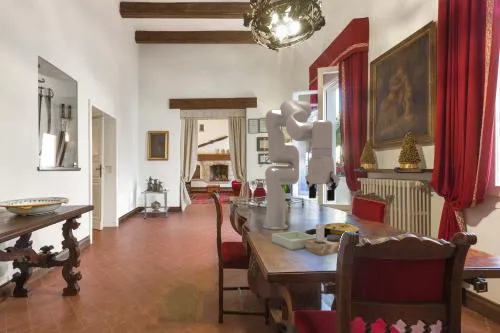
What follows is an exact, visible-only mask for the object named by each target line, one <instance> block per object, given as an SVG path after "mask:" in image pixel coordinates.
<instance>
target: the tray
mask: <svg viewBox="0 0 500 333" xmlns="http://www.w3.org/2000/svg"><path fill="white" fill-rule="evenodd" d="M310 240H316V235H309V234H306V233H305V232H302V231H299V230H293V231H284V232H277V233H271V243H272V244H275V245H278V246H280V247H283V248H286V249H288V250H289V251H297V250H303V249H306V241H310Z"/></svg>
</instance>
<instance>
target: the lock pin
mask: <svg viewBox="0 0 500 333" xmlns="http://www.w3.org/2000/svg"><path fill="white" fill-rule="evenodd" d="M324 225H325V224H320V223H319V224H316V225H315V226H316V227H315V229H316V234H315V236H316V243H317V244H324V238H325V237H324Z"/></svg>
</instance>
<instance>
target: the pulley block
mask: <svg viewBox="0 0 500 333" xmlns="http://www.w3.org/2000/svg"><path fill="white" fill-rule="evenodd" d="M323 225H324V238H327V235H338V236H340V239H342V238H341V236H342V234H343V233H344V232H345V231H350V232H356V233H358V235H367V234H368V233H367V232H366V233H365V232H364V233H363V232H362V233H361V232H359V231H360V228H359V227H357V226H356V225H355V224H353V223H351V222H347V221H346V222H332V223H326V224H323ZM304 233H306V234H309V235H313V236H315V235H316V228H311V229H308V230H306V231H305V232H304Z"/></svg>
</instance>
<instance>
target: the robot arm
mask: <svg viewBox="0 0 500 333" xmlns="http://www.w3.org/2000/svg"><path fill="white" fill-rule="evenodd" d="M312 113H313V112H312V106H311V104H310V103H309V102H308V101H306V100H294V99H287V100H284V101H283V102H282V103H281V105H280V107H279V109H277V108H276V109H275V108H274V109H270V110H268V111H267V112H266V114H265V120H264V124H265V128H266V130H265V131H266V133H267V137H268V138H267V148H268V149H267V156H268V160H269V162H270V163H273V164H287V165H271V166H268V167H267V168H266V169H265V171H264V172H265V173H264V175H265V182H266V183H265V185H266V216H265V218H263V220H264V221H265V223H264V224H263V229H267V230H275V231H276V230H277V231H278V230H287V229H288V228H289V225H288V224H286V191H285V190H284V188H283V187H282V185H295V184H297V183H298V182H299V179H300V152H299V149H298V147H296V146H295V145H292V144H290V145H289V144H286V142H285V134H284V132H283V130H282V129H281V128H280V127H282V128H286V133H287V134H288V136H289V137H290V138H291V139H292V140H294V141H296V142H304V143H305V142H307V143H308V142H309V143H311V152H310V153H311V157H310V158H309V162H308V168H307V169H308V172H307V175H305V181H306V182H305V184H307V188H308V198H309V199H316V198H317V187H316V186H317V185H325V186H326V187H327V190H326V201H327V202H334V201H335V191H336V190H337V187H338V186H339V183H340V180H341V178H340V176H338V175H337V174H336V173H335V171H336V170H335V163H334V161H335V160H334V157H333V123H332V121H331V120H327V119H321V120H315V121H313V122H308V120H309V119H310V117H311V116H312Z"/></svg>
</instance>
